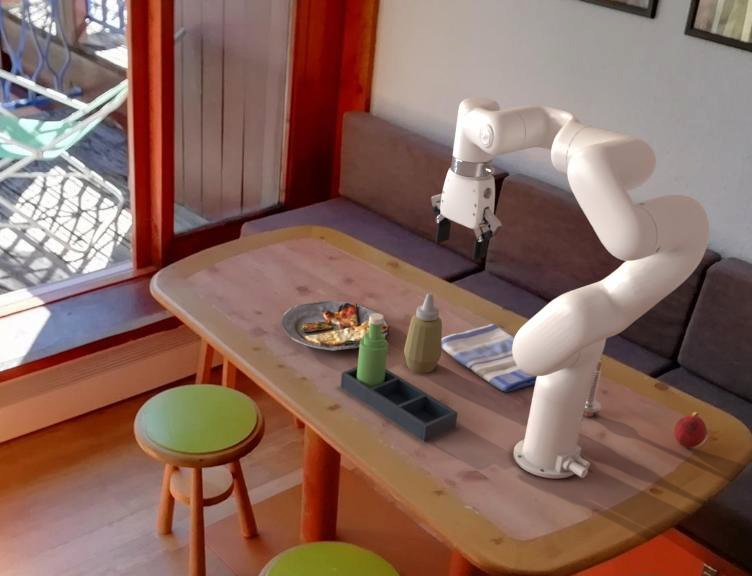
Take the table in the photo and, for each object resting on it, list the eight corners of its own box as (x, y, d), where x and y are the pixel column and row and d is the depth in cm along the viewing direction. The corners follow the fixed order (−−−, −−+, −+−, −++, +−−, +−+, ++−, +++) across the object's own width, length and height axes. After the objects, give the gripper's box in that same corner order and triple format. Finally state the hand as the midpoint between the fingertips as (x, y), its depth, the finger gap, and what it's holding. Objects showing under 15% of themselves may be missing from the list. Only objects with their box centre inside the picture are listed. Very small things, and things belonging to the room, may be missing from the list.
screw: (589, 422, 214) (569, 411, 217) (604, 415, 216) (585, 404, 220) (601, 367, 207) (581, 357, 210) (617, 360, 210) (597, 350, 213)
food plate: (363, 303, 257) (364, 290, 256) (405, 348, 239) (407, 334, 237) (267, 316, 250) (267, 303, 249) (302, 364, 232) (303, 350, 230)
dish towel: (493, 330, 247) (495, 319, 245) (564, 377, 229) (566, 366, 228) (434, 346, 240) (435, 335, 238) (502, 396, 222) (504, 384, 221)
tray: (455, 429, 211) (457, 412, 209) (423, 443, 206) (426, 426, 204) (371, 376, 228) (372, 360, 226) (340, 388, 223) (341, 372, 221)
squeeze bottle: (438, 379, 228) (448, 304, 218) (400, 374, 229) (409, 300, 219) (439, 360, 234) (449, 287, 225) (403, 356, 236) (411, 283, 226)
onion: (697, 459, 204) (708, 424, 199) (667, 449, 206) (676, 415, 202) (704, 444, 208) (714, 410, 204) (673, 435, 210) (683, 401, 206)
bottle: (389, 390, 222) (397, 318, 213) (368, 398, 219) (375, 325, 210) (370, 378, 226) (377, 307, 217) (350, 386, 223) (356, 314, 214)
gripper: (520, 175, 194) (506, 260, 203) (451, 149, 206) (441, 230, 215) (492, 183, 190) (479, 269, 199) (424, 156, 202) (415, 239, 211)
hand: (460, 249), depth 207 cm, fingers open, 9 cm apart
